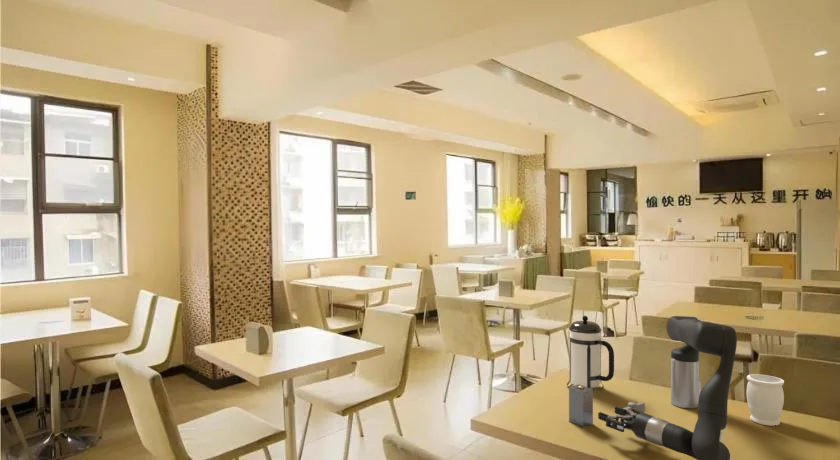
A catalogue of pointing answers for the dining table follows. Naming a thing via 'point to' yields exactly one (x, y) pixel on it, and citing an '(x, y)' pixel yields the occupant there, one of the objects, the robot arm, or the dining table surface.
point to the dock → (635, 406)
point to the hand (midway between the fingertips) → (607, 412)
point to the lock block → (581, 405)
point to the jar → (765, 398)
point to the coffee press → (587, 354)
